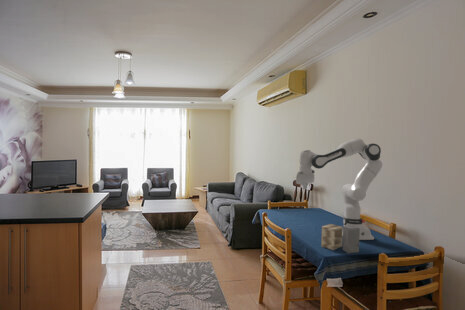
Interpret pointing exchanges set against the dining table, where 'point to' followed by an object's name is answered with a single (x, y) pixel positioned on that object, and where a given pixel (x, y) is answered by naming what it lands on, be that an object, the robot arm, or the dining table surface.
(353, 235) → the skincare box
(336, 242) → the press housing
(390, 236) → the dining table surface
